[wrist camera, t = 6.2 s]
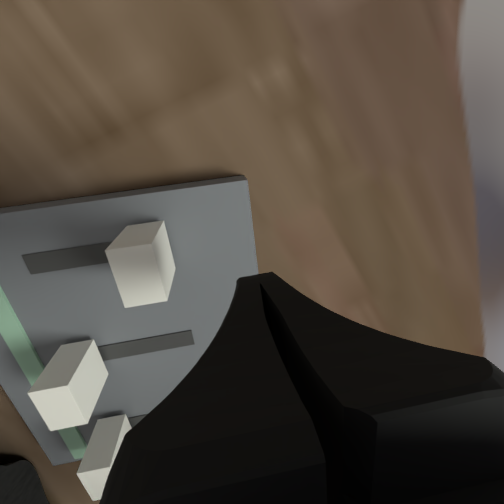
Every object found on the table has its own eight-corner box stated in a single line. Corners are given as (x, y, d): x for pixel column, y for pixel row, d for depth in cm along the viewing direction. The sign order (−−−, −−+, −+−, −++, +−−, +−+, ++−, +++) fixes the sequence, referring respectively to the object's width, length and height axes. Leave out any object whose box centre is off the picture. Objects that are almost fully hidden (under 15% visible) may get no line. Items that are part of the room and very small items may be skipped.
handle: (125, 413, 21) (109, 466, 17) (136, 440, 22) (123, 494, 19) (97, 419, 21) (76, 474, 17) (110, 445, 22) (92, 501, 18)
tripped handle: (163, 220, 16) (151, 243, 12) (175, 268, 17) (167, 301, 14) (126, 225, 15) (104, 250, 12) (141, 273, 17) (124, 308, 13)
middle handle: (93, 339, 18) (67, 385, 15) (108, 373, 19) (87, 423, 16) (61, 344, 18) (27, 393, 14) (77, 379, 19) (50, 431, 16)
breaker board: (243, 174, 18) (247, 180, 16) (270, 399, 26) (275, 421, 24) (-67, 217, 16) (-106, 228, 14) (65, 440, 24) (52, 468, 22)
